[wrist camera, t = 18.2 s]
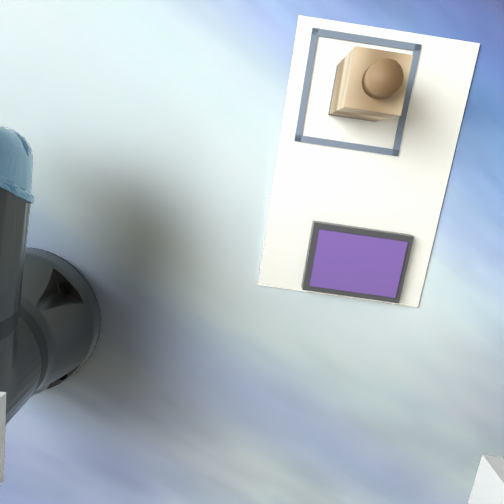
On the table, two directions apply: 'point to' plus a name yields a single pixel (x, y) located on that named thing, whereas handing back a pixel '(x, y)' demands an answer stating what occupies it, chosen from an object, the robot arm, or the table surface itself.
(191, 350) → the table surface
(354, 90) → the stamp
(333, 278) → the ink pad
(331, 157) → the sheet
